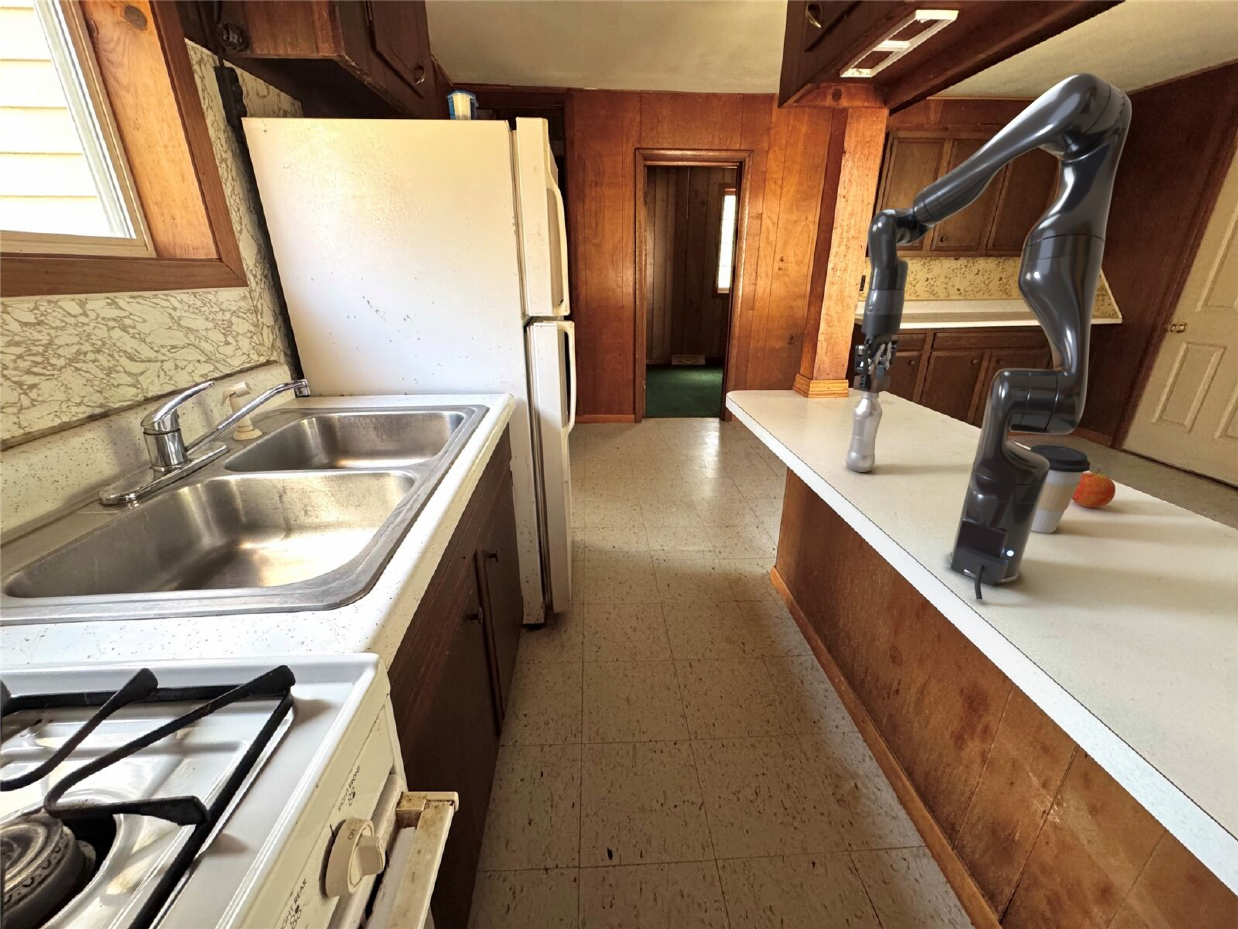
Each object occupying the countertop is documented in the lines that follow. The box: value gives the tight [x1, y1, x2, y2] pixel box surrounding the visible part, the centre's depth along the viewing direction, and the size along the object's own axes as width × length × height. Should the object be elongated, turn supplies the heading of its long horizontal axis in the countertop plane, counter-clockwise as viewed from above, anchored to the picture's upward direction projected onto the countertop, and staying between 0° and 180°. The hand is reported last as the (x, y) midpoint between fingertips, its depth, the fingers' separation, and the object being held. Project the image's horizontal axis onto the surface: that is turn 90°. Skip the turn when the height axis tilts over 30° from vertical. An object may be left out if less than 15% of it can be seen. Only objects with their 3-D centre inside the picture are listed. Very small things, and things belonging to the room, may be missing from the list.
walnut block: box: [852, 373, 892, 394], centre depth 116 cm, size 6×6×3 cm
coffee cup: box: [1029, 444, 1091, 534], centre depth 94 cm, size 9×9×15 cm
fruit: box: [1071, 468, 1116, 509], centre depth 102 cm, size 7×7×8 cm
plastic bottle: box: [845, 391, 883, 473], centre depth 121 cm, size 6×7×20 cm
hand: (871, 387), depth 117 cm, fingers closed on walnut block, 5 cm apart
